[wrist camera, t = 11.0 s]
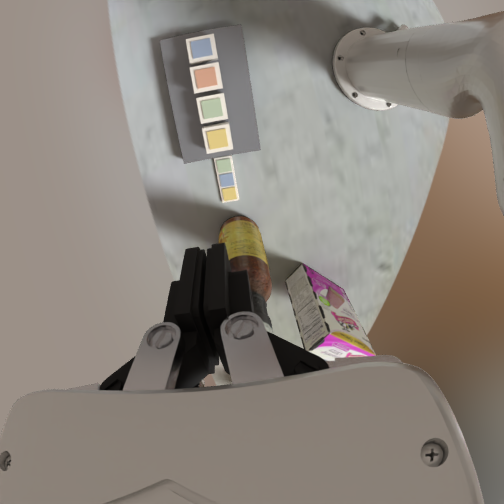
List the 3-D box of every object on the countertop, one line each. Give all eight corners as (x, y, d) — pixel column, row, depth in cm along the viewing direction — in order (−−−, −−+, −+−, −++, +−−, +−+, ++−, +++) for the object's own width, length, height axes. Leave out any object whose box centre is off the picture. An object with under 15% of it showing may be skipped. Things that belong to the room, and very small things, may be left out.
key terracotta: (193, 69, 30) (189, 67, 27) (219, 64, 30) (218, 61, 27) (197, 93, 32) (194, 93, 28) (223, 88, 32) (222, 88, 28)
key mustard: (204, 124, 35) (201, 128, 32) (228, 120, 35) (229, 123, 32) (208, 147, 37) (206, 154, 33) (232, 143, 37) (233, 149, 33)
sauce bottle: (212, 222, 43) (206, 319, 27) (251, 208, 43) (270, 299, 26) (228, 257, 47) (233, 358, 30) (266, 243, 46) (289, 342, 29)
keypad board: (162, 42, 29) (159, 40, 27) (240, 27, 29) (241, 24, 27) (186, 160, 38) (184, 163, 36) (259, 146, 38) (260, 150, 36)
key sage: (198, 97, 33) (196, 98, 30) (223, 92, 33) (223, 93, 30) (203, 120, 35) (200, 124, 31) (227, 116, 35) (228, 119, 31)
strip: (214, 158, 38) (213, 159, 38) (231, 154, 38) (231, 155, 38) (222, 201, 42) (222, 203, 41) (239, 198, 42) (239, 200, 41)
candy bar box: (345, 287, 52) (377, 355, 39) (326, 305, 54) (353, 374, 41) (302, 260, 48) (330, 333, 34) (283, 280, 50) (303, 356, 36)
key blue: (189, 43, 29) (185, 39, 26) (214, 38, 29) (213, 33, 26) (193, 65, 30) (189, 63, 27) (218, 60, 30) (217, 57, 27)
